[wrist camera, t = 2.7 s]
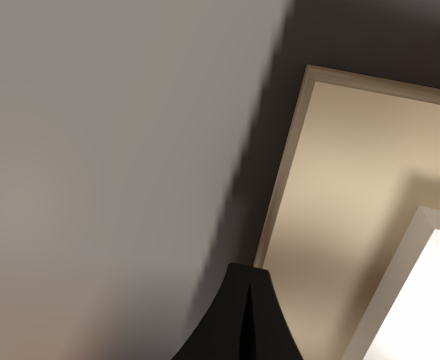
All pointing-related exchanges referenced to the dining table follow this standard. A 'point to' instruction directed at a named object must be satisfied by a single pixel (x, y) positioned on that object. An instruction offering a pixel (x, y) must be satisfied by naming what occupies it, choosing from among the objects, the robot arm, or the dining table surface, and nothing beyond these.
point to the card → (405, 299)
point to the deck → (346, 199)
